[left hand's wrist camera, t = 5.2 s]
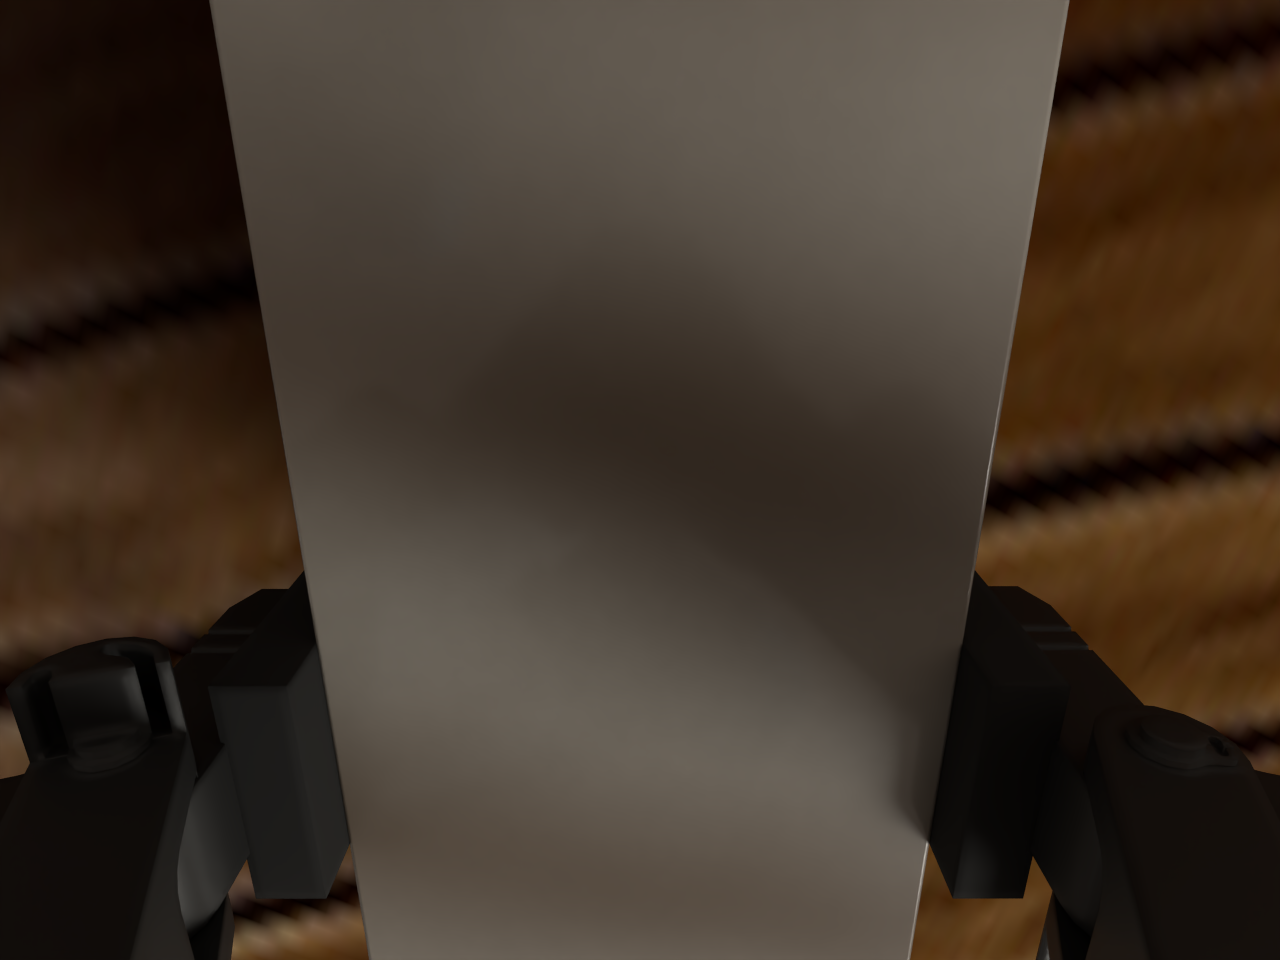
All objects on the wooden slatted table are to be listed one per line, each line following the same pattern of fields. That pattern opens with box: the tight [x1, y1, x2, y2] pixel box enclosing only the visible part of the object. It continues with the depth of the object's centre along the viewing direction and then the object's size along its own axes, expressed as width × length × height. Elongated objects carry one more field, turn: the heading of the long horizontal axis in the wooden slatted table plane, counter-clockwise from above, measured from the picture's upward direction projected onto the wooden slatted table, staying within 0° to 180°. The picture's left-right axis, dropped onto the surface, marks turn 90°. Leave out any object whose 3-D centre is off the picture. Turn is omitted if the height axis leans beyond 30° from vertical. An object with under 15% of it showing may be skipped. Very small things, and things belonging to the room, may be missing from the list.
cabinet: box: [209, 0, 1069, 960], centre depth 12 cm, size 17×7×10 cm, turn 0°
